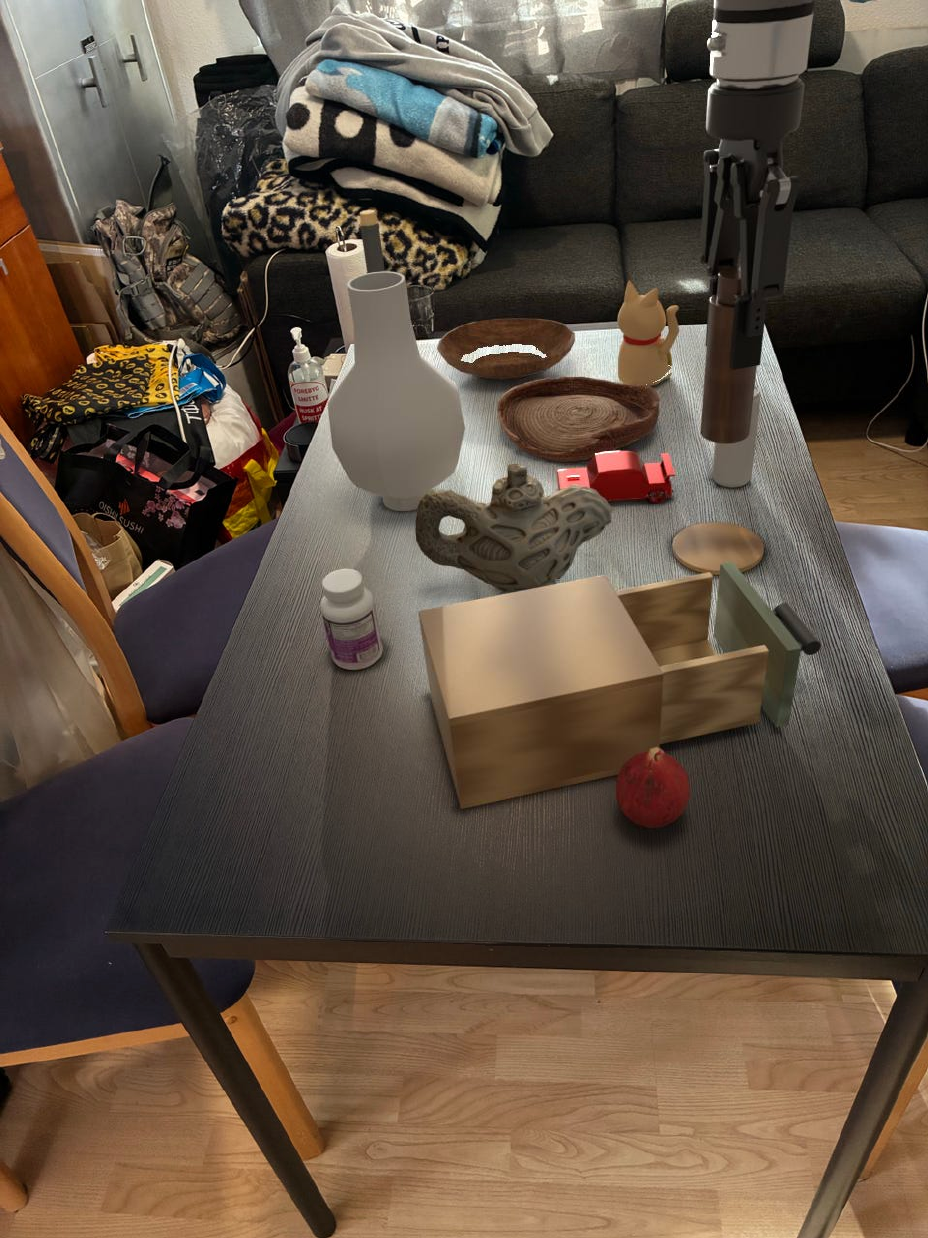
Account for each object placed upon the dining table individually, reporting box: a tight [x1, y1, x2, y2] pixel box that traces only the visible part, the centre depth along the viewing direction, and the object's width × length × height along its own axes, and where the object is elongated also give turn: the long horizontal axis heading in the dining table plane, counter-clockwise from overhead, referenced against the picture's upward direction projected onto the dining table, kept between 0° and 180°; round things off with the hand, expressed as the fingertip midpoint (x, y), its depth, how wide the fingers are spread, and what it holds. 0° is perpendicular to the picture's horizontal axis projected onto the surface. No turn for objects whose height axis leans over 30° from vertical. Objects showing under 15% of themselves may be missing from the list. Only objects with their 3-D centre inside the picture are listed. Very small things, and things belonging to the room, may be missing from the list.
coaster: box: [671, 521, 765, 576], centre depth 106 cm, size 10×10×1 cm
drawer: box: [615, 561, 822, 745], centre depth 85 cm, size 21×13×9 cm, turn 102°
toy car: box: [556, 449, 676, 504], centre depth 116 cm, size 14×6×5 cm, turn 89°
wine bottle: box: [359, 209, 413, 325], centre depth 130 cm, size 8×8×30 cm
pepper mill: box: [700, 267, 758, 444], centre depth 90 cm, size 5×5×16 cm
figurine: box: [617, 279, 680, 387], centre depth 139 cm, size 9×10×15 cm
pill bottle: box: [320, 568, 384, 671], centre depth 94 cm, size 5×5×10 cm
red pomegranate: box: [615, 747, 691, 829], centre depth 74 cm, size 6×6×8 cm
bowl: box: [436, 317, 576, 380], centre depth 150 cm, size 20×22×5 cm
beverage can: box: [711, 385, 761, 489], centre depth 115 cm, size 5×5×12 cm
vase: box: [327, 270, 466, 512], centre depth 113 cm, size 17×16×28 cm
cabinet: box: [417, 574, 664, 810], centre depth 83 cm, size 18×15×11 cm
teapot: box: [414, 463, 613, 593], centre depth 100 cm, size 21×12×15 cm, turn 99°
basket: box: [496, 376, 661, 463], centre depth 131 cm, size 22×20×5 cm
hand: (732, 354), depth 90 cm, fingers closed on pepper mill, 5 cm apart
